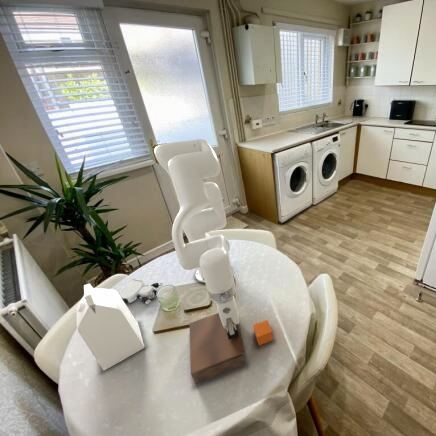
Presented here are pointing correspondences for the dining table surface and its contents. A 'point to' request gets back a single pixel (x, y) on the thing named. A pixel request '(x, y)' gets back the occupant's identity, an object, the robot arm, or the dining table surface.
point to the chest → (218, 369)
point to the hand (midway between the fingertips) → (232, 329)
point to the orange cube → (263, 332)
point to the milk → (107, 326)
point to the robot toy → (138, 291)
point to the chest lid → (212, 343)
